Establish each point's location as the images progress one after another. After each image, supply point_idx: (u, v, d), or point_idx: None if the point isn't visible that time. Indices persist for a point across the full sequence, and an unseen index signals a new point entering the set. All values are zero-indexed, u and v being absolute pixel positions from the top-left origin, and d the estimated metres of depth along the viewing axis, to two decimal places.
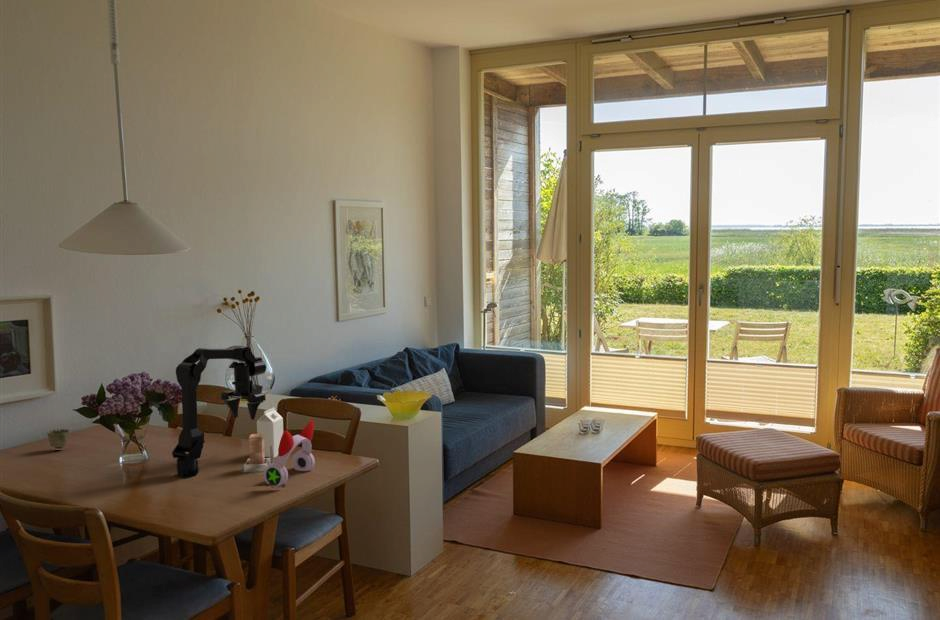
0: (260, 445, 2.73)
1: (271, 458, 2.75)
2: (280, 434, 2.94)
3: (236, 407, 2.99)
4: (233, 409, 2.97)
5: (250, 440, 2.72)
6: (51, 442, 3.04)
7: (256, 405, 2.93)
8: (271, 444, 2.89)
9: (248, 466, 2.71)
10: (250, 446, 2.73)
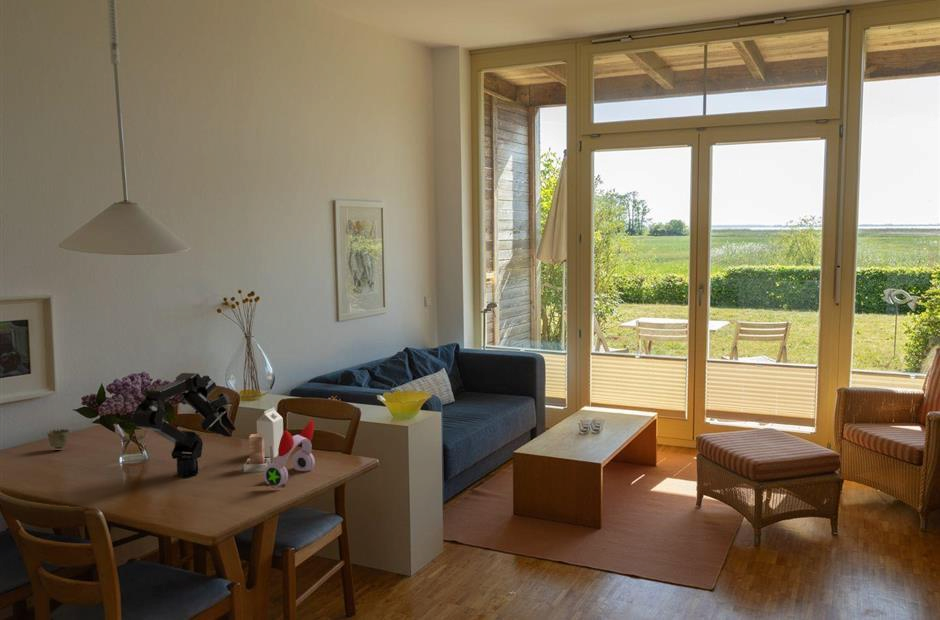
0: (260, 445, 2.73)
1: (271, 458, 2.75)
2: (280, 434, 2.94)
3: (228, 420, 2.83)
4: (226, 425, 2.83)
5: (250, 440, 2.72)
6: (51, 442, 3.04)
7: (218, 424, 2.72)
8: (271, 444, 2.89)
9: (248, 466, 2.71)
10: (250, 446, 2.73)
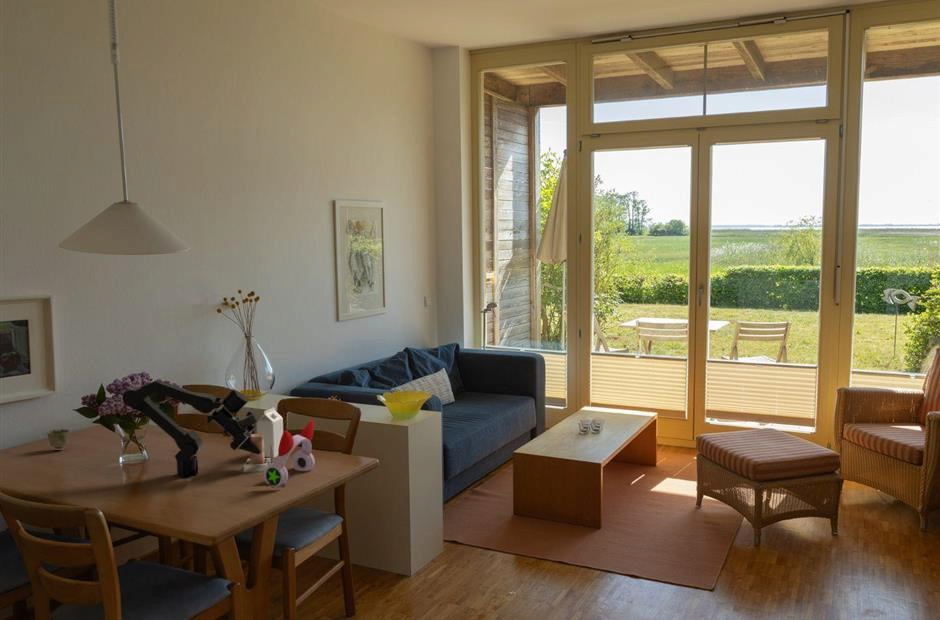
0: (260, 445, 2.73)
1: (271, 458, 2.75)
2: (280, 434, 2.94)
3: None
4: None
5: None
6: (51, 442, 3.04)
7: (249, 442, 2.71)
8: (271, 444, 2.89)
9: (248, 466, 2.71)
10: None
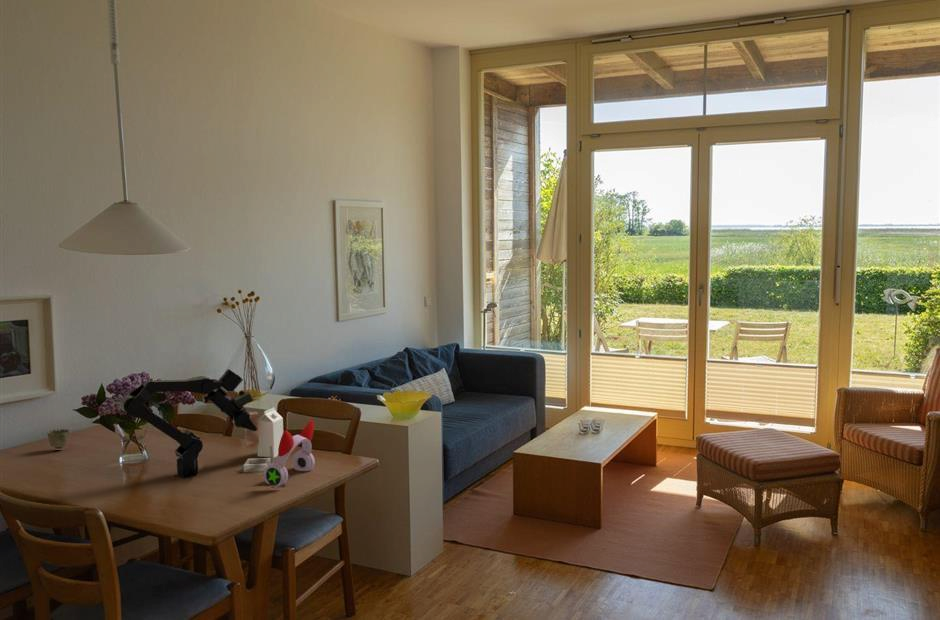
0: (257, 422, 2.83)
1: (271, 458, 2.75)
2: (280, 434, 2.94)
3: None
4: None
5: None
6: (51, 442, 3.04)
7: (247, 420, 2.80)
8: (271, 444, 2.89)
9: (248, 466, 2.71)
10: None
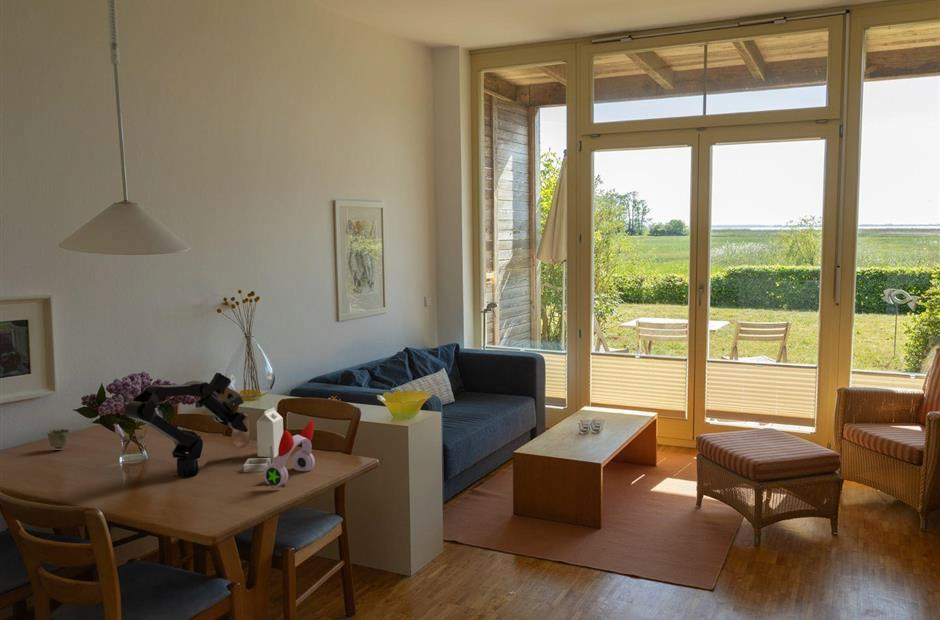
0: (247, 423, 2.89)
1: (271, 458, 2.75)
2: (280, 434, 2.94)
3: None
4: None
5: None
6: (51, 442, 3.04)
7: None
8: (271, 444, 2.89)
9: (248, 466, 2.71)
10: None
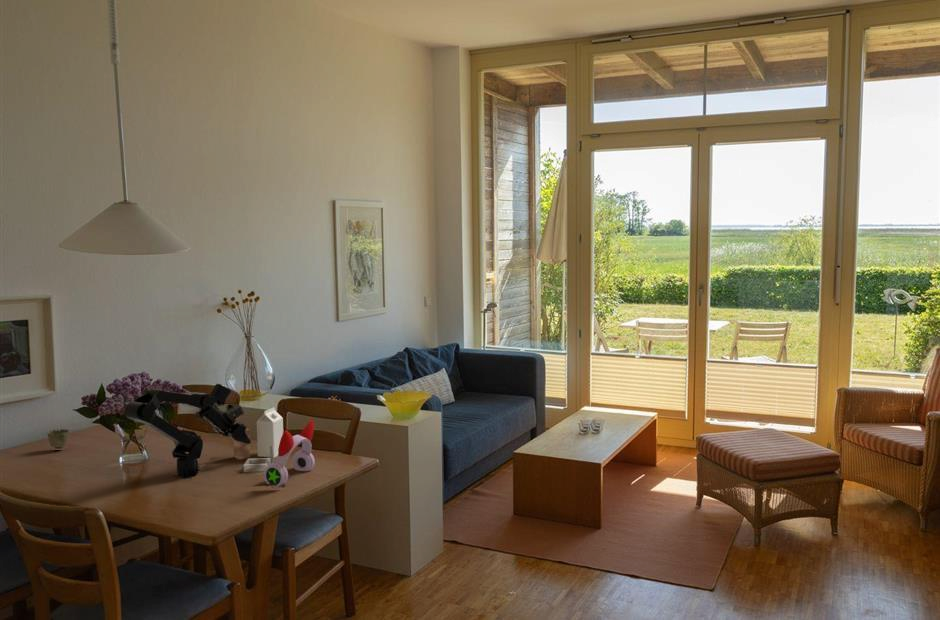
0: None
1: (271, 458, 2.75)
2: (280, 434, 2.94)
3: None
4: None
5: None
6: (51, 442, 3.04)
7: (243, 433, 2.84)
8: (271, 444, 2.89)
9: (248, 466, 2.71)
10: None
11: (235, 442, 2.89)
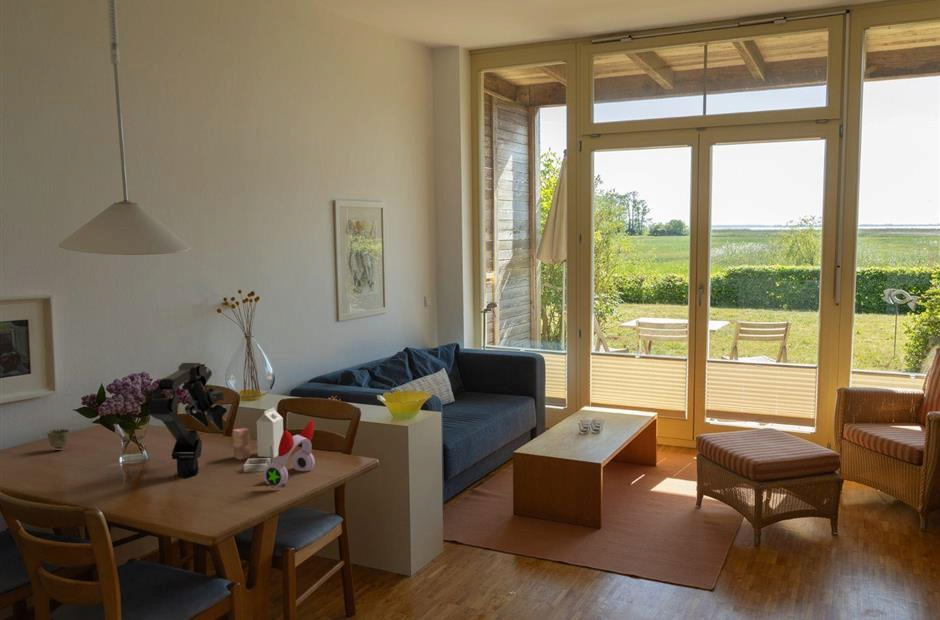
0: (248, 438, 2.89)
1: (271, 458, 2.75)
2: (280, 434, 2.94)
3: (204, 416, 2.89)
4: (201, 420, 2.88)
5: (239, 434, 2.87)
6: (51, 442, 3.04)
7: (220, 417, 2.82)
8: (271, 444, 2.89)
9: (248, 466, 2.71)
10: (239, 440, 2.87)
11: (235, 442, 2.89)
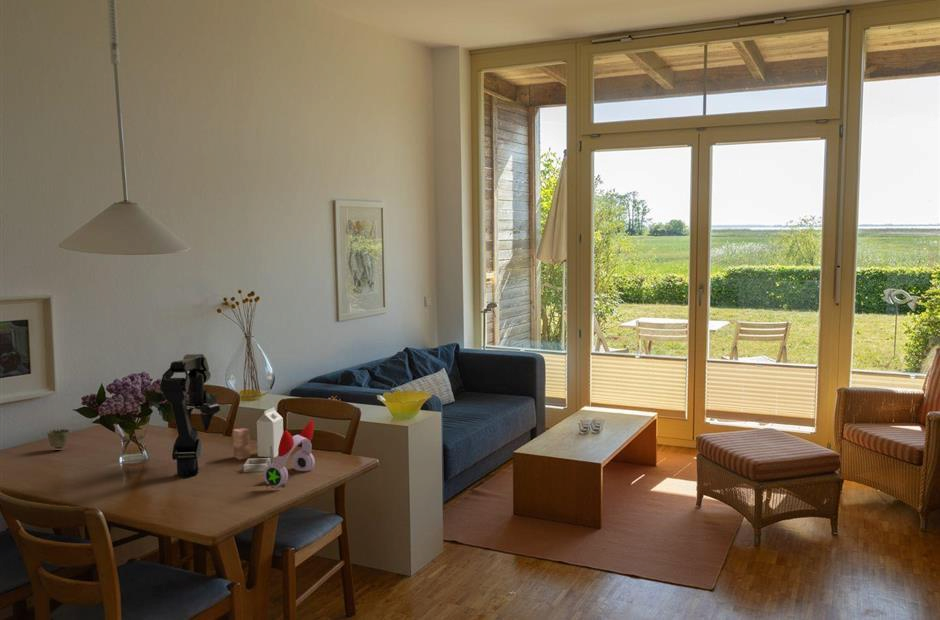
0: (248, 438, 2.89)
1: (271, 458, 2.75)
2: (280, 434, 2.94)
3: (189, 416, 2.89)
4: None
5: (239, 434, 2.87)
6: (51, 442, 3.04)
7: (210, 416, 2.84)
8: (271, 444, 2.89)
9: (248, 466, 2.71)
10: (239, 440, 2.87)
11: (235, 442, 2.89)
